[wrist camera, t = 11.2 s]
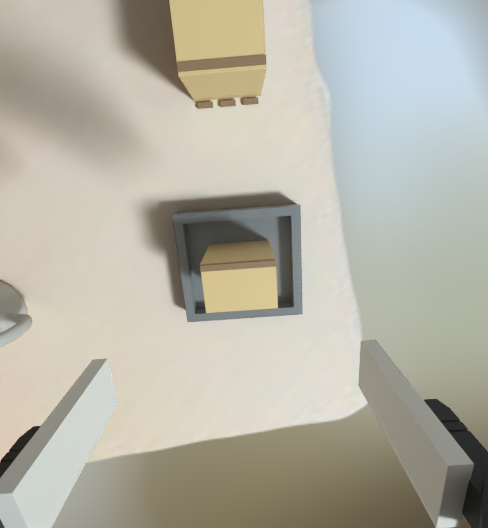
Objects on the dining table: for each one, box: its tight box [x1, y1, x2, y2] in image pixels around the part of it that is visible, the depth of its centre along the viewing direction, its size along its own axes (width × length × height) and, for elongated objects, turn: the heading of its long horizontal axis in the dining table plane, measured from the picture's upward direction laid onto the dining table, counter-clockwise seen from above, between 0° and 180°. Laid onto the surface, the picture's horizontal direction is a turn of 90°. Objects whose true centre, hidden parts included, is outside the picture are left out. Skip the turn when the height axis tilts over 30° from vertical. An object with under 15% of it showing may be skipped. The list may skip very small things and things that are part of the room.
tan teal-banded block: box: [169, 0, 266, 109], centre depth 26 cm, size 11×7×8 cm, turn 4°
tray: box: [172, 204, 302, 322], centre depth 35 cm, size 13×14×2 cm
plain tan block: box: [200, 240, 278, 313], centre depth 31 cm, size 5×7×8 cm
